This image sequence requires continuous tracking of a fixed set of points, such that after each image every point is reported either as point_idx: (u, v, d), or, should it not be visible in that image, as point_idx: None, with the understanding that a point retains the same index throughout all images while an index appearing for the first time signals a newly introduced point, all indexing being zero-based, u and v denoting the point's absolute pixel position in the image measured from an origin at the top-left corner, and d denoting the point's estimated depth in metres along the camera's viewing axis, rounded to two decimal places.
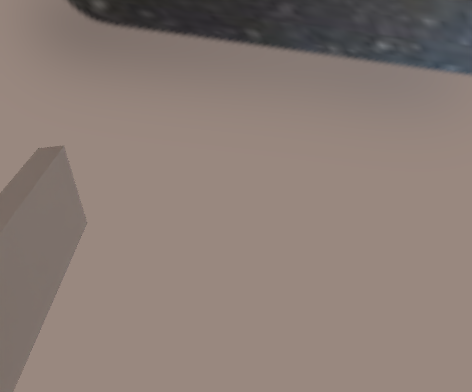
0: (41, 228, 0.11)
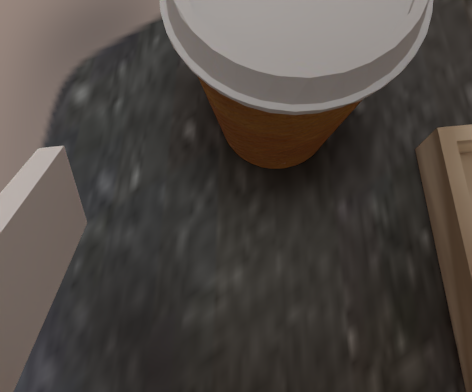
0: (41, 228, 0.11)
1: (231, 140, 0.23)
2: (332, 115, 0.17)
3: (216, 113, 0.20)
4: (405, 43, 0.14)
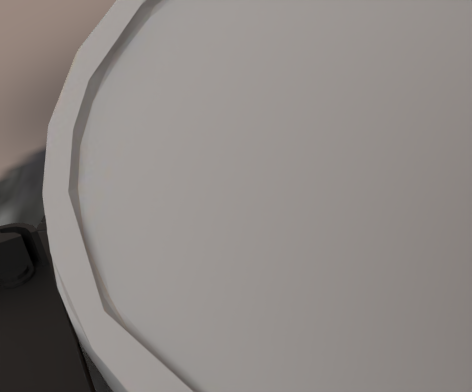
0: None
1: None
2: None
3: None
4: None
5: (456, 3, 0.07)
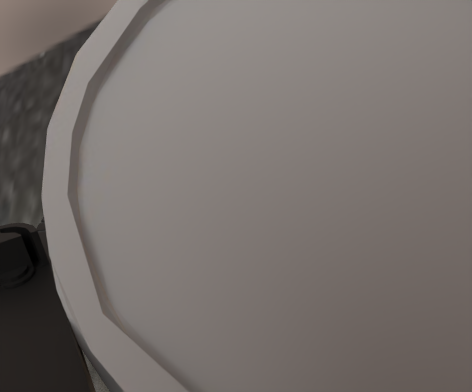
0: None
1: None
2: None
3: None
4: None
5: (455, 6, 0.07)
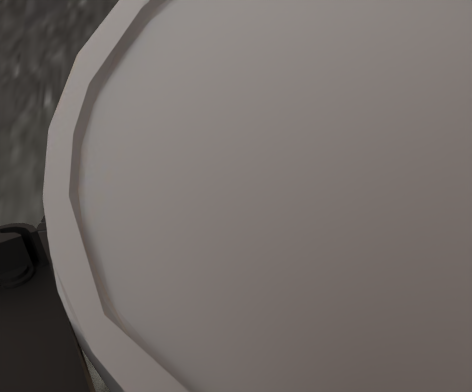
0: None
1: None
2: None
3: None
4: None
5: (457, 6, 0.07)
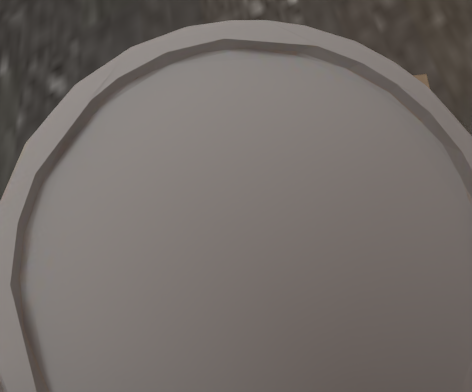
0: None
1: None
2: None
3: None
4: None
5: (375, 117, 0.08)
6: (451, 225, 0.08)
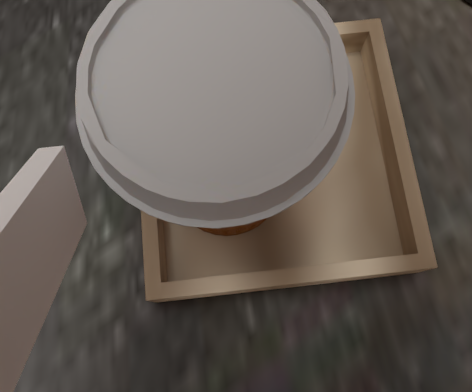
0: (41, 228, 0.11)
1: None
2: None
3: None
4: (322, 156, 0.13)
5: (270, 3, 0.15)
6: (313, 54, 0.14)
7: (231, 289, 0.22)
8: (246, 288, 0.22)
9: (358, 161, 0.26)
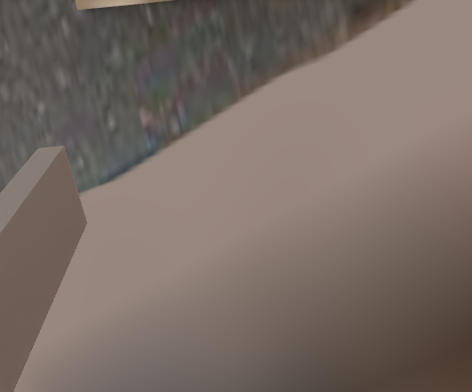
0: (41, 228, 0.11)
1: None
2: None
3: None
4: None
5: None
6: None
7: (131, 3, 0.35)
8: (141, 2, 0.35)
9: None
